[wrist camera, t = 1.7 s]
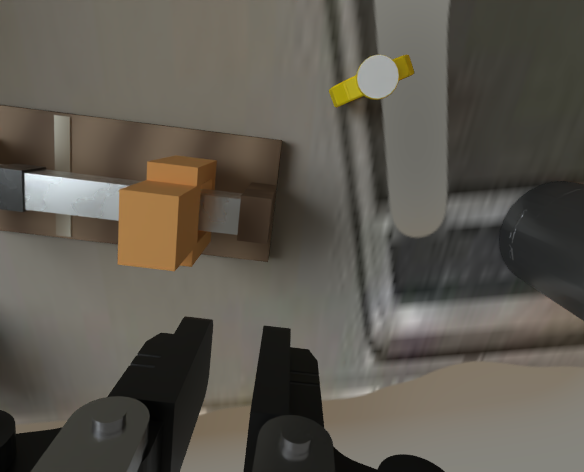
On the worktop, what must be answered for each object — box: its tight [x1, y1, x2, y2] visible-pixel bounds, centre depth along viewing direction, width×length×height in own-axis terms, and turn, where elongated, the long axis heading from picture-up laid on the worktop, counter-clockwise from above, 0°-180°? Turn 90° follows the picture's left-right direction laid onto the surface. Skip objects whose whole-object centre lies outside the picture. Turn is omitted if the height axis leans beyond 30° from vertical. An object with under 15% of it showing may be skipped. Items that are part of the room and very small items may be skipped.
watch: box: [329, 55, 414, 107], centre depth 30 cm, size 6×3×6 cm, turn 113°
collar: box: [118, 155, 217, 271], centre depth 26 cm, size 3×6×10 cm, turn 173°
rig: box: [0, 105, 282, 262], centre depth 30 cm, size 24×10×10 cm, turn 83°
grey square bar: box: [0, 163, 242, 235], centre depth 28 cm, size 20×3×3 cm, turn 83°
